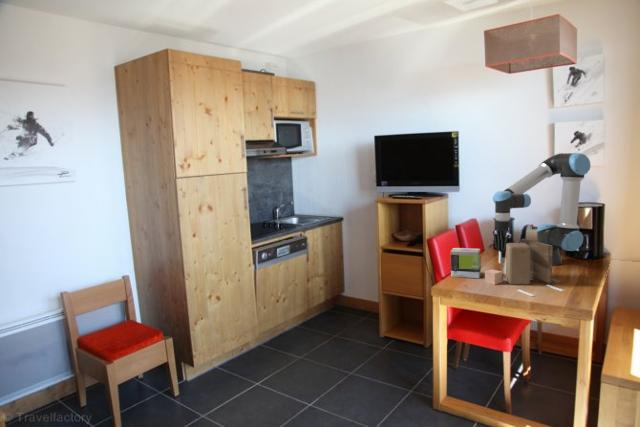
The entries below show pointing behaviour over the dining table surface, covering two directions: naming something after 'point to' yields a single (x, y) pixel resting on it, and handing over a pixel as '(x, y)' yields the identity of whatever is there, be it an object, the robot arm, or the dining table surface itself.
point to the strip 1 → (525, 292)
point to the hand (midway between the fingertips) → (501, 262)
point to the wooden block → (518, 263)
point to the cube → (493, 276)
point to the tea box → (465, 262)
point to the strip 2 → (554, 288)
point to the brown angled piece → (540, 262)
